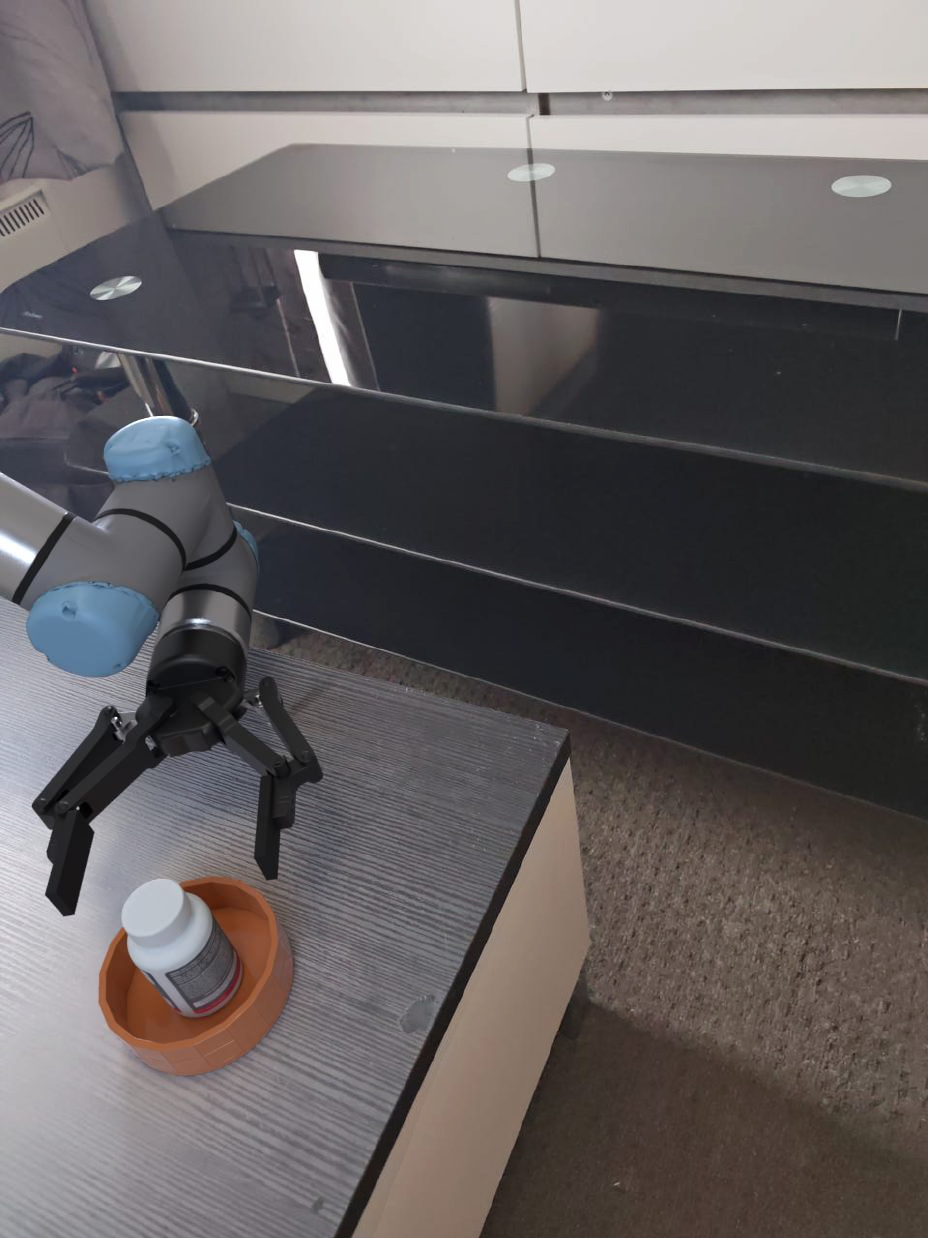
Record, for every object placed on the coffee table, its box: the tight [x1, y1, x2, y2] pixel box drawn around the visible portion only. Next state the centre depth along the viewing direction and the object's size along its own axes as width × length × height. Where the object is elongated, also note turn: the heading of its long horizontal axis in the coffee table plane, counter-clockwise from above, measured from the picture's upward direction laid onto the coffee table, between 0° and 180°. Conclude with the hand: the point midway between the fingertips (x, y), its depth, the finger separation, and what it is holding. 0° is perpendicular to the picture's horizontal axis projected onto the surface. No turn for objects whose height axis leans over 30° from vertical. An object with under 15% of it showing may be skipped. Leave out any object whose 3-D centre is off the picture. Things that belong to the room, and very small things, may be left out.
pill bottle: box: [120, 878, 243, 1018], centre depth 60 cm, size 5×5×10 cm
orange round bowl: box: [97, 875, 295, 1077], centre depth 62 cm, size 12×12×4 cm
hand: (162, 887), depth 59 cm, fingers open, 13 cm apart
